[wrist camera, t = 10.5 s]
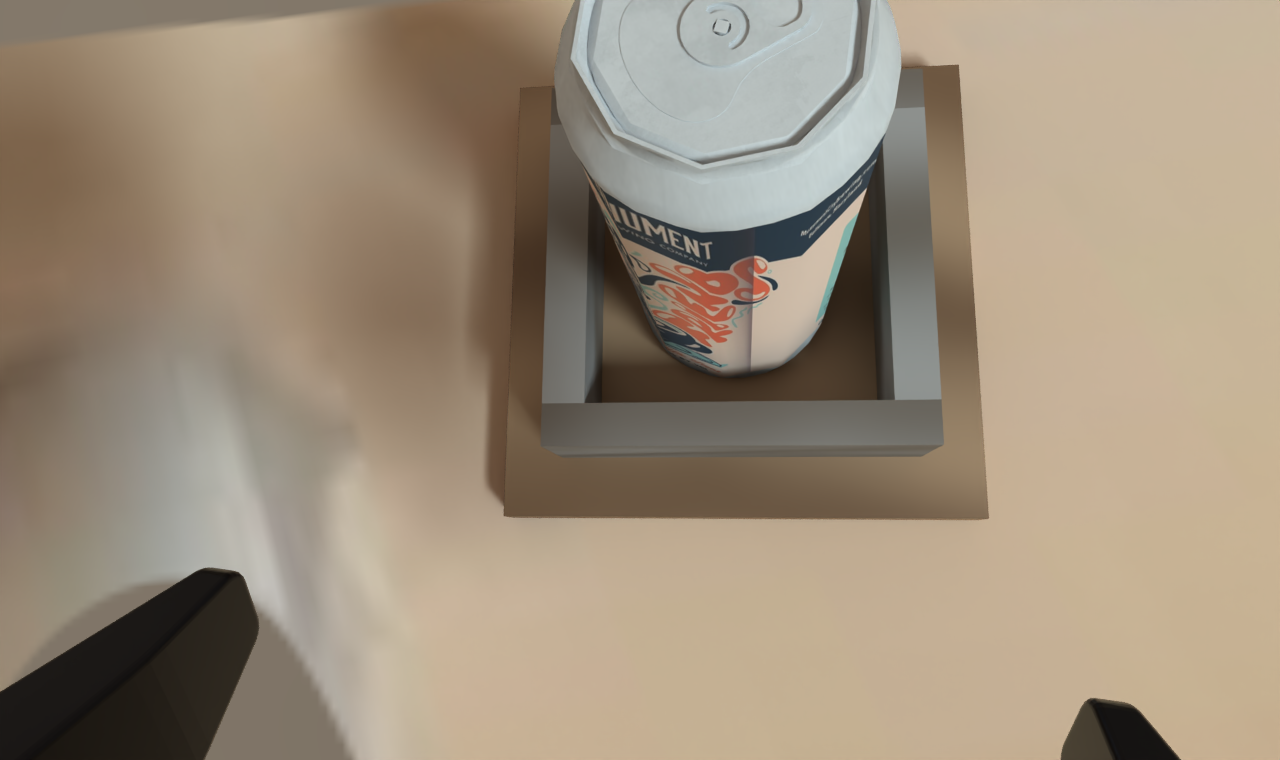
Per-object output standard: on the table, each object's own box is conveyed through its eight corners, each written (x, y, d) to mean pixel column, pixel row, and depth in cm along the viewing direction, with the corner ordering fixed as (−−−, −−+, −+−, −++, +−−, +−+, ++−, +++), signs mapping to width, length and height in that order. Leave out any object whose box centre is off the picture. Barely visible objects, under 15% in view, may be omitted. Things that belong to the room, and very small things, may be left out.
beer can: (612, 260, 23) (477, -28, 12) (768, 174, 23) (792, -201, 12) (697, 415, 22) (644, 270, 11) (862, 326, 22) (991, 82, 11)
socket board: (977, 519, 22) (1020, 514, 19) (513, 517, 23) (474, 511, 20) (949, 84, 24) (983, 8, 21) (529, 105, 26) (496, 37, 22)
